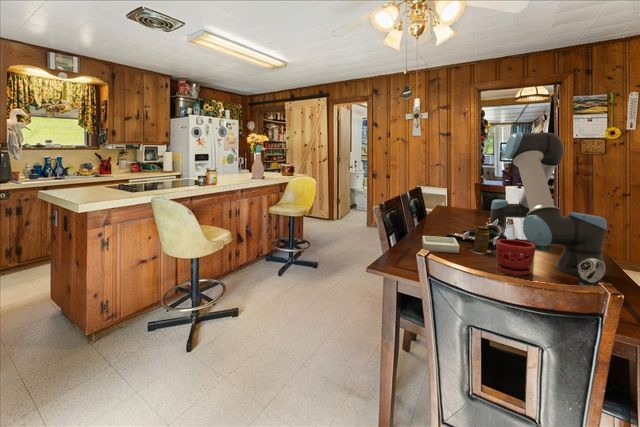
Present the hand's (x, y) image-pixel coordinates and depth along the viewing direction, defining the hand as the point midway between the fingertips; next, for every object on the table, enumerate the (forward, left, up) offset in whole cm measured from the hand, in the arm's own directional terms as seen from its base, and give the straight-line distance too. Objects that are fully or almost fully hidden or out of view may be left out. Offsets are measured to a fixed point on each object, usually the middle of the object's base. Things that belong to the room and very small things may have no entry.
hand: (478, 239), depth 150 cm
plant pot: (-24, -8, -7) cm, 26 cm away
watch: (-37, -28, -7) cm, 47 cm away
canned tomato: (+14, -31, -7) cm, 35 cm away
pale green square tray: (+4, +17, -7) cm, 18 cm away
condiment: (+2, -1, -7) cm, 7 cm away
